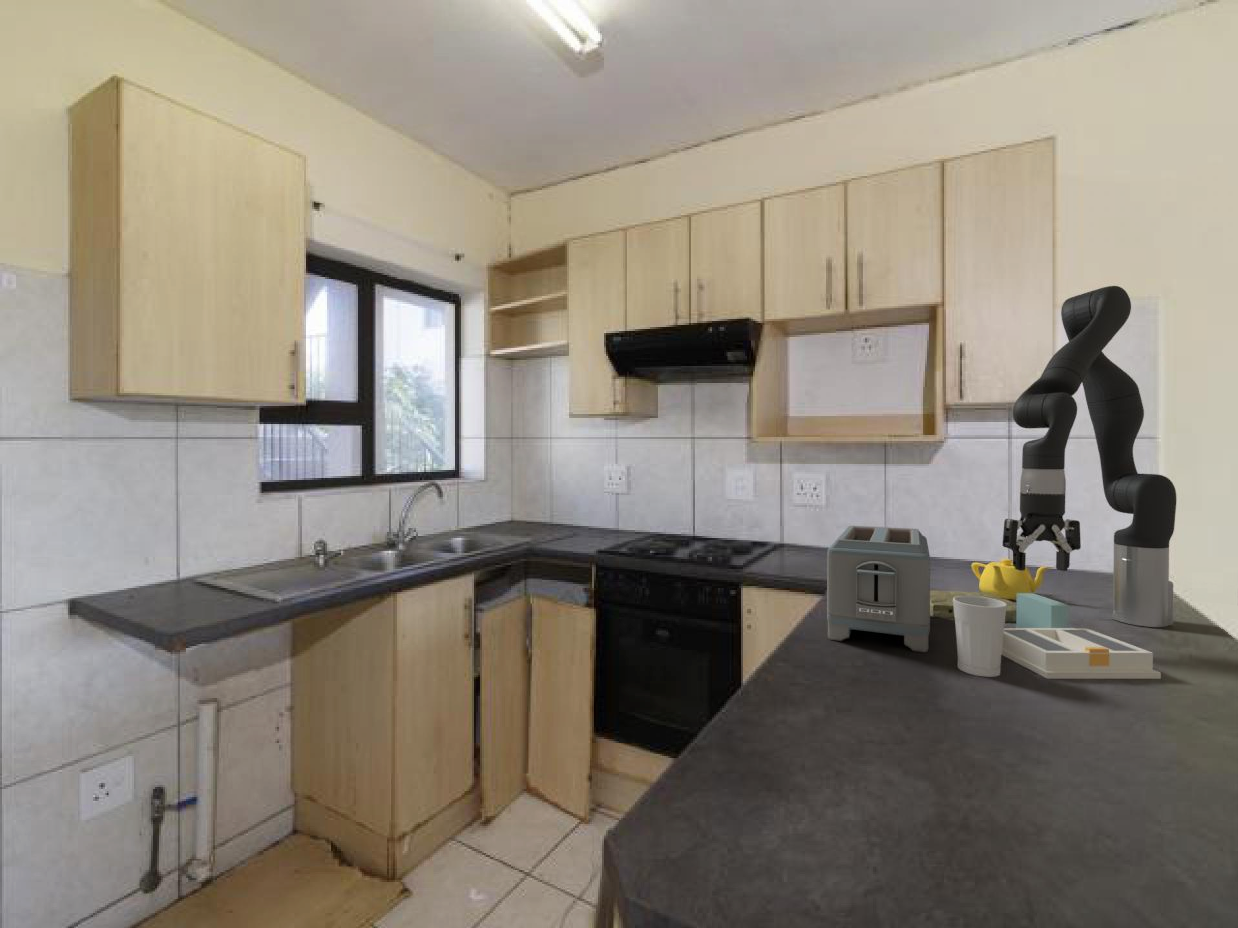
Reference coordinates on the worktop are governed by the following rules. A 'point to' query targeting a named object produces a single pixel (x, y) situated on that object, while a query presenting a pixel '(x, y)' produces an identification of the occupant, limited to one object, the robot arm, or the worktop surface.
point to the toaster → (879, 584)
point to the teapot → (1007, 579)
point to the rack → (1076, 654)
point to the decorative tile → (944, 599)
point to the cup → (979, 634)
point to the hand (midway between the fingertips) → (1040, 570)
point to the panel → (1040, 612)
